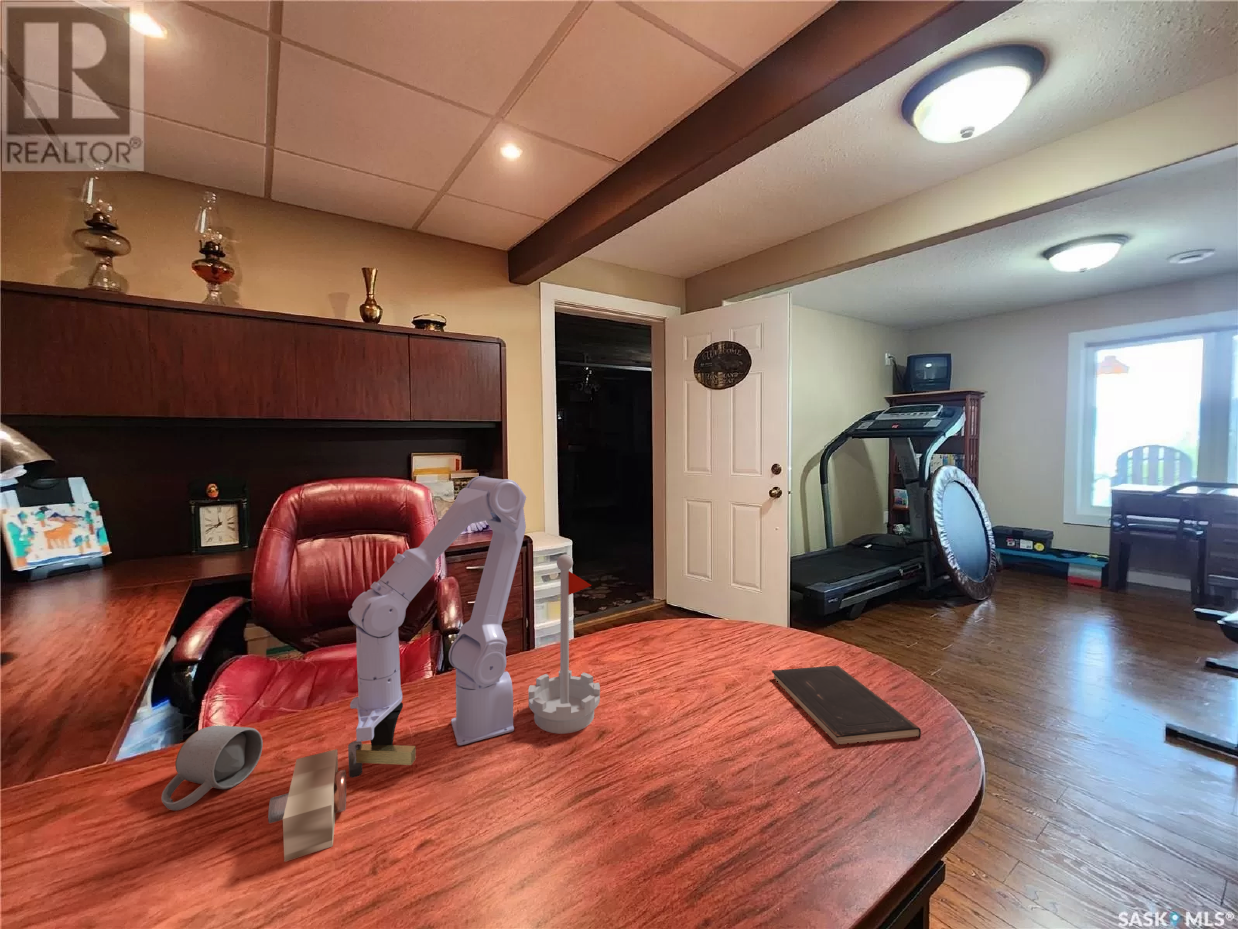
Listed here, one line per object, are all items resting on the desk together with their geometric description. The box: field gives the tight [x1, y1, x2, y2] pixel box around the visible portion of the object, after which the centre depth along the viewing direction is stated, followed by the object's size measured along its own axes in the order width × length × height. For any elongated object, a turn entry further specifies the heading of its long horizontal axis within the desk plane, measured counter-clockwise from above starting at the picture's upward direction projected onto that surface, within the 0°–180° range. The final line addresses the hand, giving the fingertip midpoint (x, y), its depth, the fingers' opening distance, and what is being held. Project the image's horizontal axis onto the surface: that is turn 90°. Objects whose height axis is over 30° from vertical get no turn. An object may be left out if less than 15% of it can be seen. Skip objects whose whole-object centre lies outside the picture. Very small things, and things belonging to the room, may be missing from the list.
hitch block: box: [282, 748, 339, 863], centre depth 64 cm, size 5×12×5 cm, turn 27°
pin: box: [267, 769, 347, 824], centre depth 64 cm, size 8×5×5 cm, turn 117°
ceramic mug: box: [161, 725, 264, 812], centre depth 70 cm, size 11×8×8 cm
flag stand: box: [528, 553, 601, 735], centre depth 88 cm, size 13×13×30 cm
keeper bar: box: [347, 740, 417, 778], centre depth 73 cm, size 10×2×5 cm, turn 87°
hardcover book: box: [771, 665, 922, 746], centre depth 94 cm, size 16×23×2 cm
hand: (382, 756), depth 74 cm, fingers closed, pressing on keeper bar
